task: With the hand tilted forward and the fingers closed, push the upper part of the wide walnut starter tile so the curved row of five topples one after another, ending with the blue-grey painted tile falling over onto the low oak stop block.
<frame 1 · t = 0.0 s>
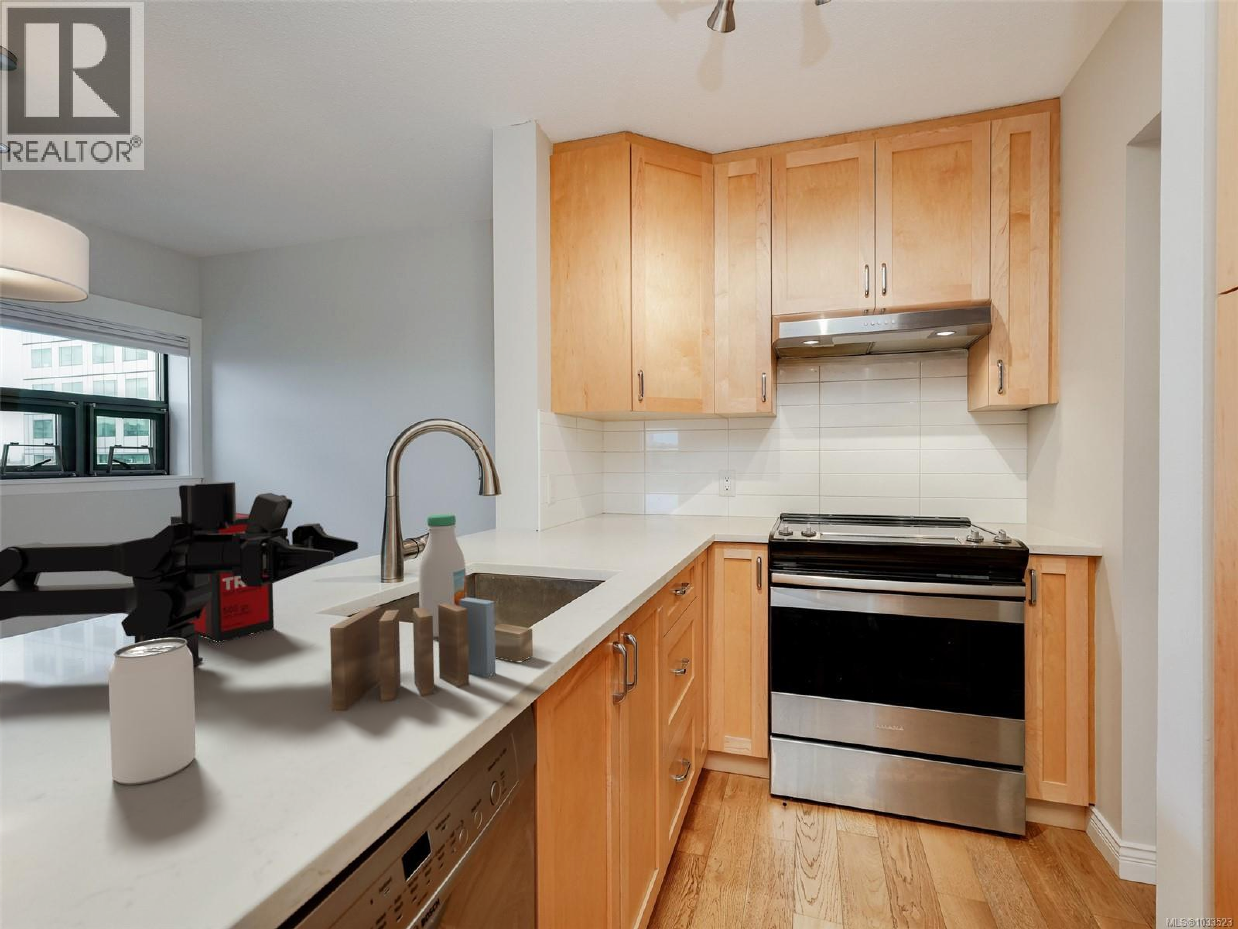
hand: (346, 550, 87), 17 cm above the countertop, tool horizontal, fingers open, 9 cm apart
can: (155, 770, 58), on the countertop
domino 1: (358, 695, 75), on the countertop
domino 4: (454, 681, 79), on the countertop
domino 3: (424, 688, 77), on the countertop
domino 5: (477, 672, 83), on the countertop
milk bottle: (443, 633, 102), on the countertop
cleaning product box: (223, 629, 106), on the countertop
stop block: (510, 656, 89), on the countertop
domino 2: (391, 693, 76), on the countertop
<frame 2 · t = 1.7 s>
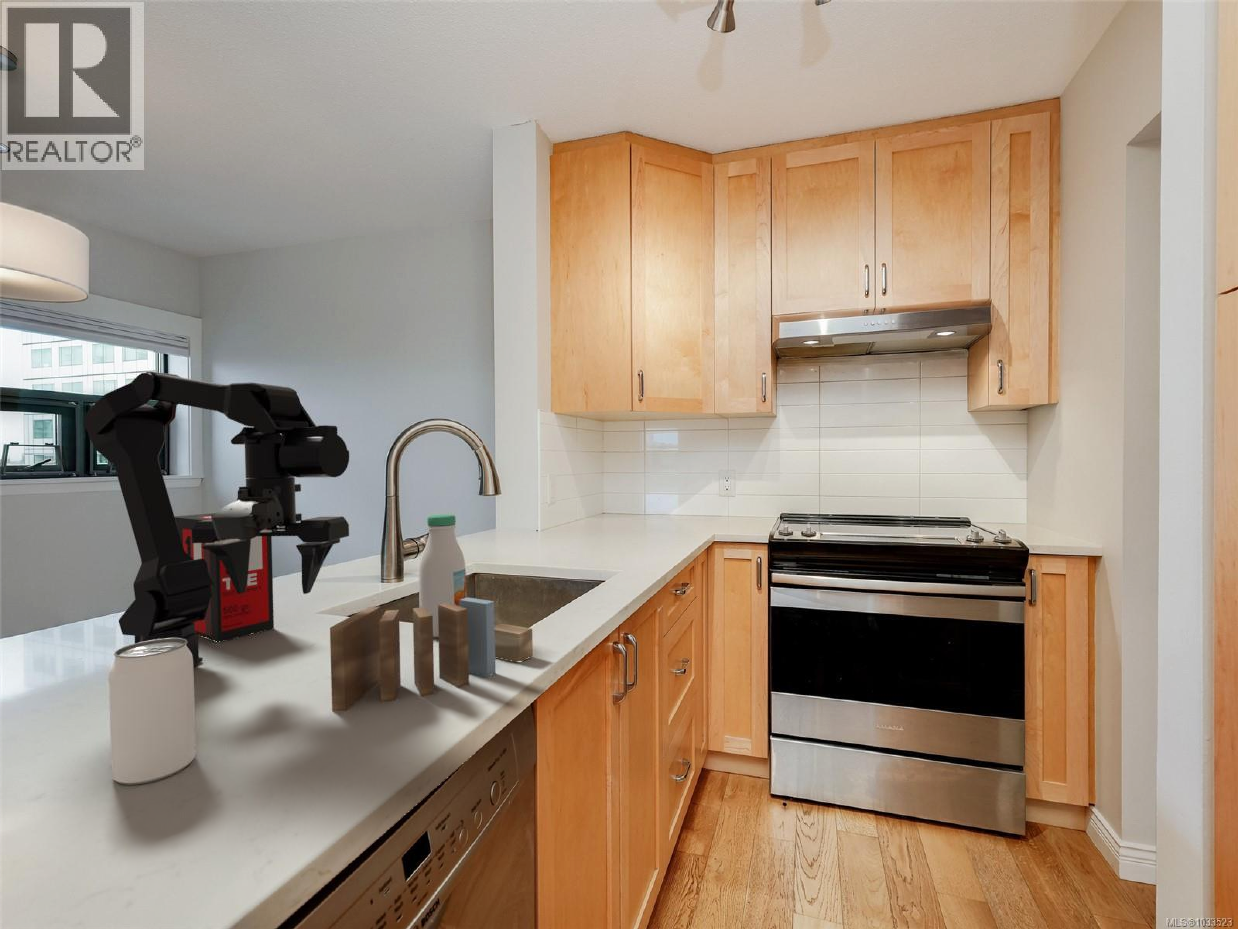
hand: (273, 593, 80), 12 cm above the countertop, tool pointing down, fingers open, 9 cm apart
nothing on the countertop moved.
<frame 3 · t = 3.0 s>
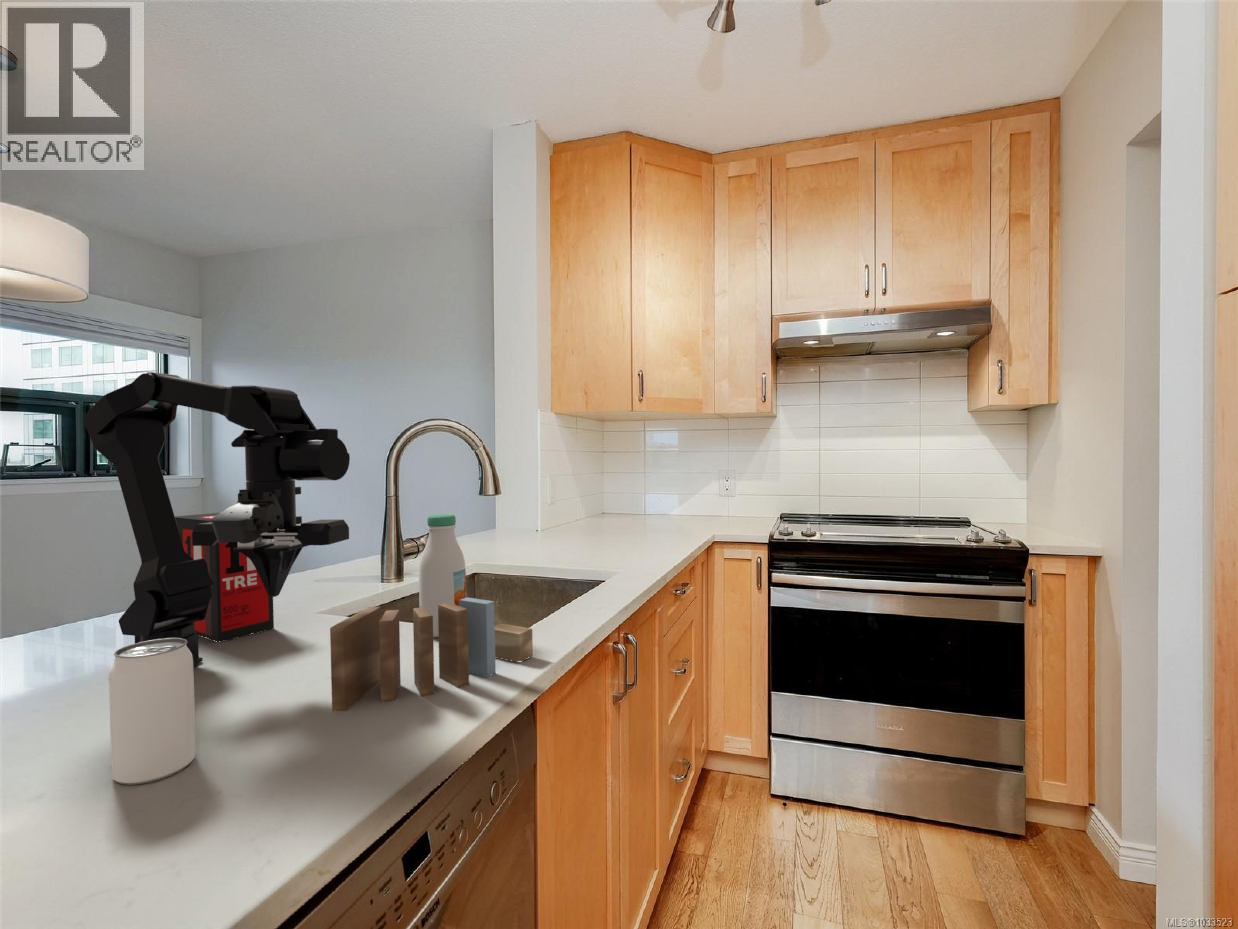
hand: (273, 596, 80), 12 cm above the countertop, tool pointing down, fingers closed
nothing on the countertop moved.
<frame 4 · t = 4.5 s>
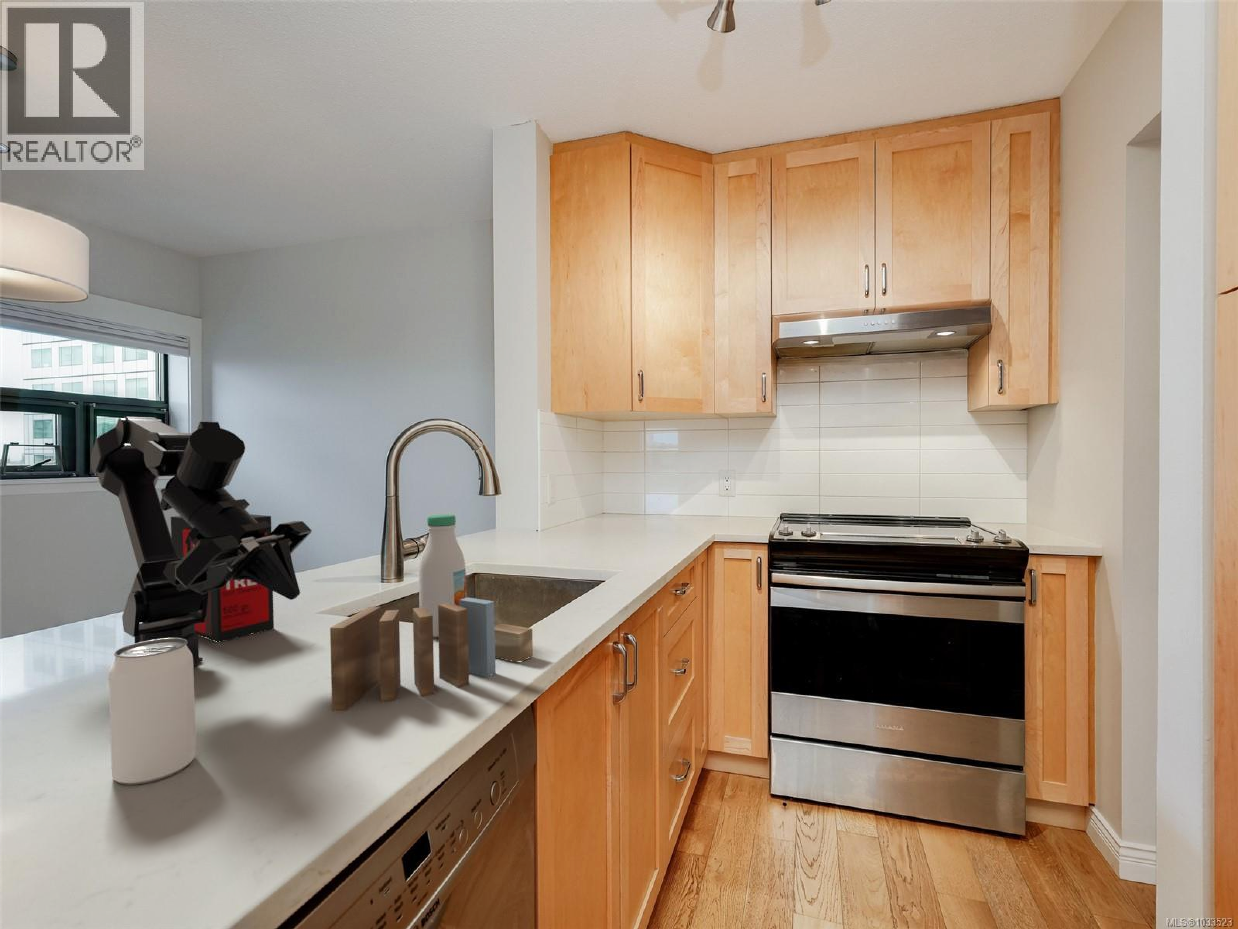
hand: (296, 596, 76), 12 cm above the countertop, tool tilted 45°, fingers closed
nothing on the countertop moved.
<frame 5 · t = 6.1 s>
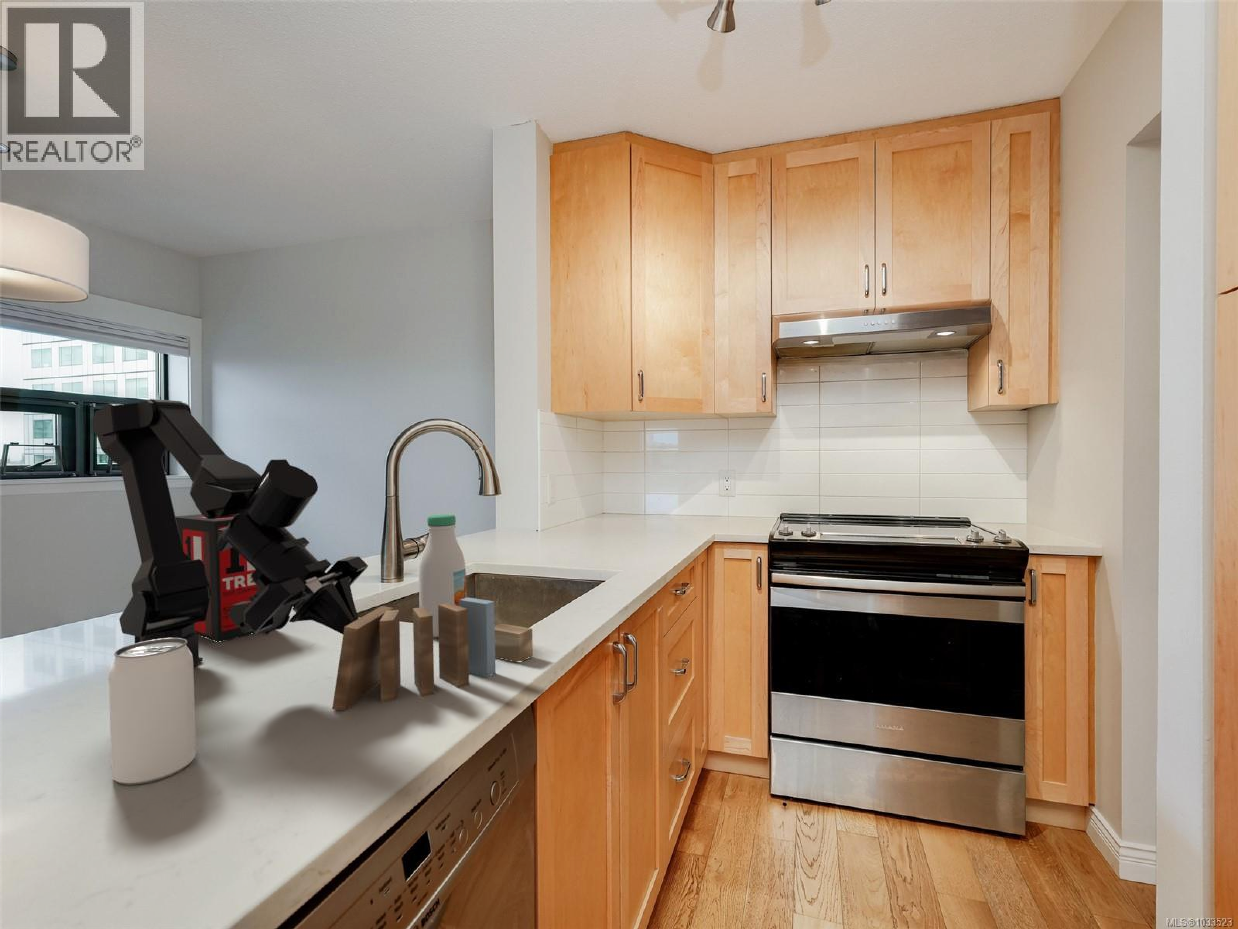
hand: (358, 636, 75), 7 cm above the countertop, tool tilted 45°, fingers closed, pressing on domino 1
domino 1: (358, 693, 75), on the countertop, tilted 10°, touching gripper
everything else where it was.
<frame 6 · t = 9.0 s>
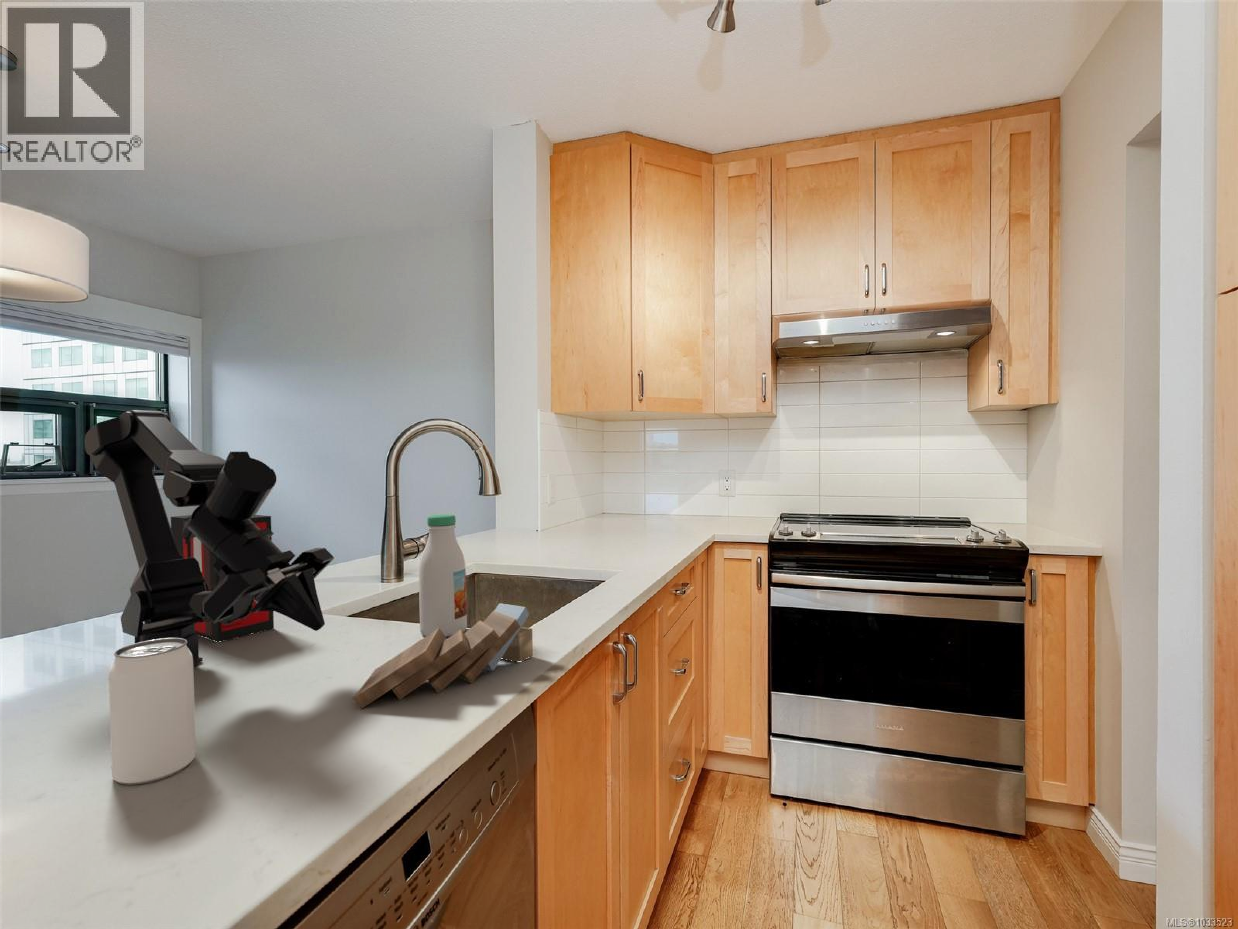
hand: (320, 627, 76), 8 cm above the countertop, tool tilted 45°, fingers closed
domino 1: (368, 688, 76), point 1 cm above the countertop, tilted 58°
domino 4: (457, 673, 80), point 1 cm above the countertop, tilted 55°, touching domino 3, domino 5
domino 3: (429, 682, 77), point 1 cm above the countertop, tilted 57°, touching domino 2, domino 4
domino 5: (476, 664, 82), point 1 cm above the countertop, tilted 54°, touching domino 4, stop block
domino 2: (397, 687, 76), point 1 cm above the countertop, tilted 58°, touching domino 3
everything else where it was.
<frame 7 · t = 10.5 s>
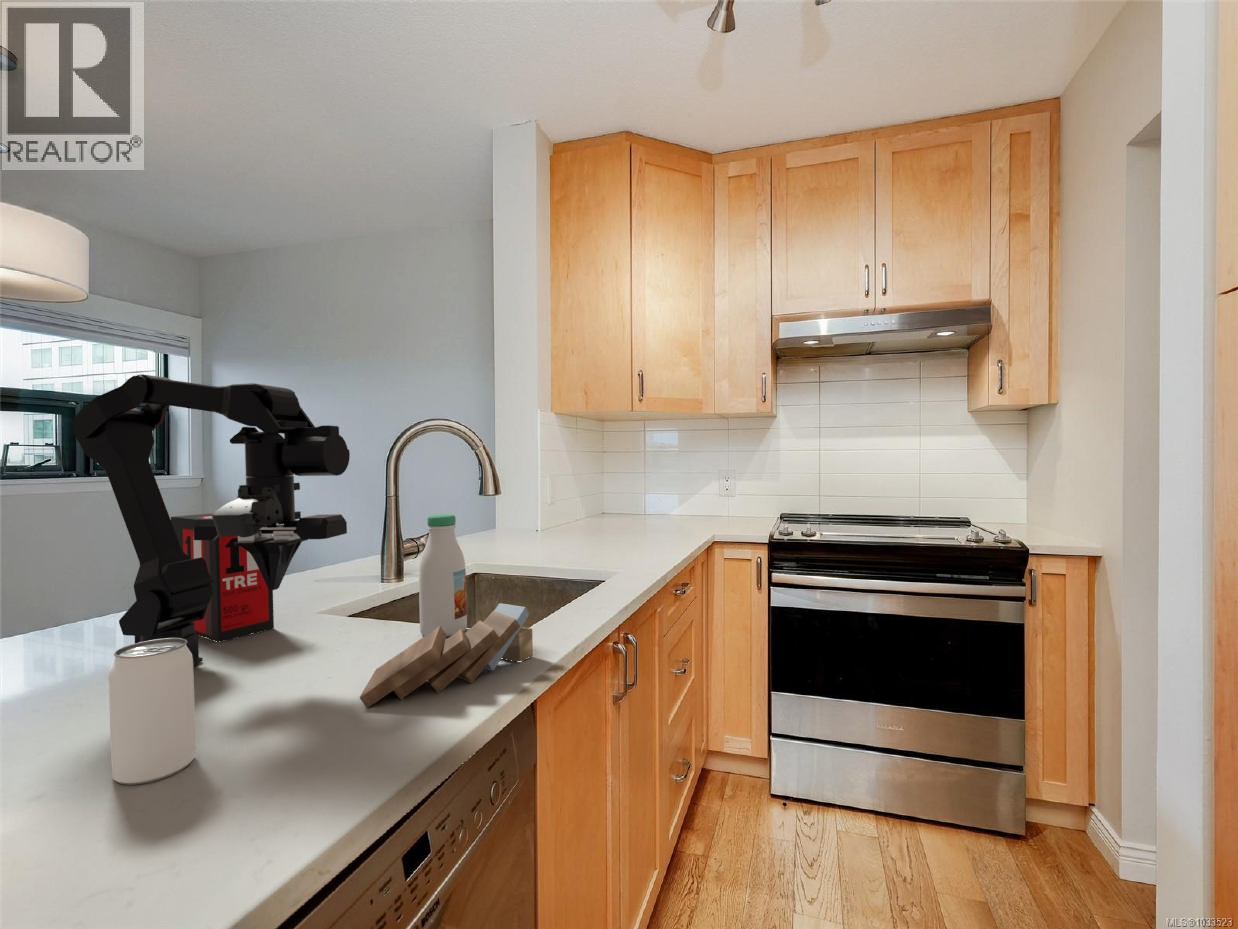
hand: (273, 589, 82), 12 cm above the countertop, tool pointing down, fingers closed
domino 1: (371, 687, 76), point 1 cm above the countertop, tilted 58°, touching domino 2
domino 2: (398, 687, 76), point 1 cm above the countertop, tilted 58°, touching domino 1, domino 3
everything else where it was.
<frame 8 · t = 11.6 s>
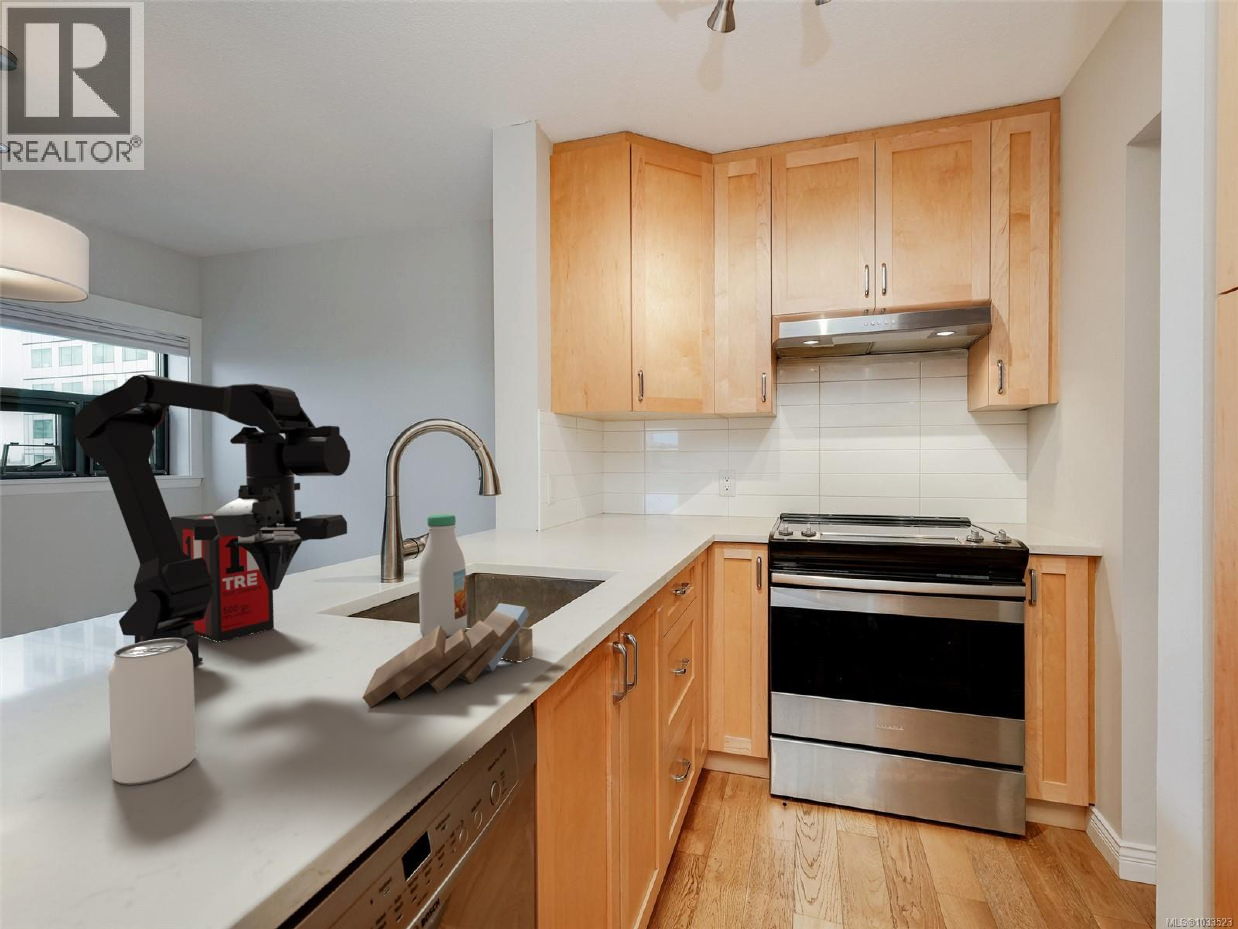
hand: (273, 589, 82), 12 cm above the countertop, tool pointing down, fingers closed
nothing on the countertop moved.
at the end: domino 5 tilted 54°; domino 1 tilted 57° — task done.
